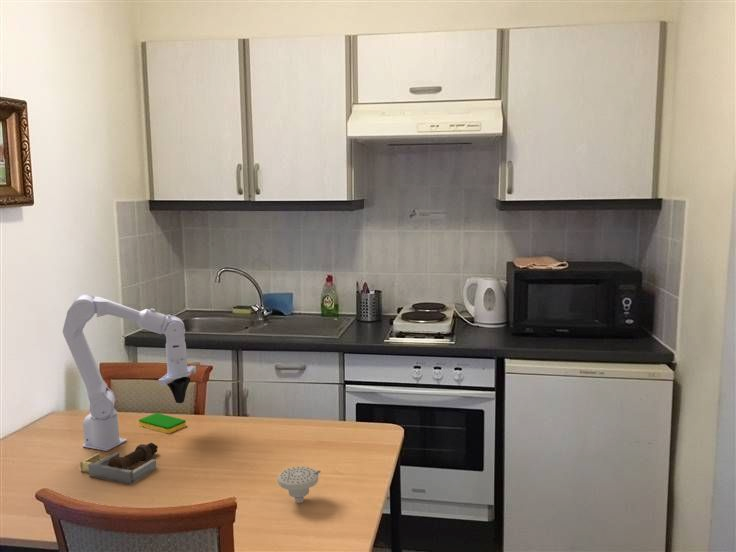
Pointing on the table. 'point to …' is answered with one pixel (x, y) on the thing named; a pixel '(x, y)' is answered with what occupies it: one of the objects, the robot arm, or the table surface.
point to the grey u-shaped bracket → (120, 471)
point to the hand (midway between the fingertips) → (179, 402)
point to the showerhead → (298, 481)
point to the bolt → (134, 456)
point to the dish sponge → (162, 422)
